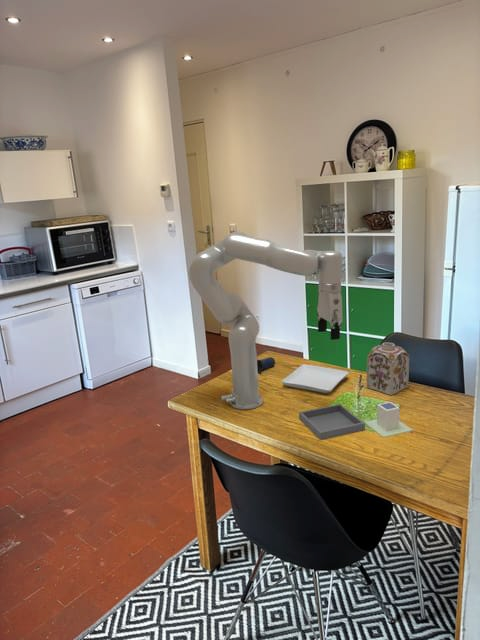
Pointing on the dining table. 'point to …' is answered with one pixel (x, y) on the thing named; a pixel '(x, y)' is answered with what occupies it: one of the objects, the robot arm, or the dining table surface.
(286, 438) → the dining table surface
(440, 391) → the dining table surface
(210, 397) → the dining table surface
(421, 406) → the dining table surface
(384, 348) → the decorative jar
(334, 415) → the bin
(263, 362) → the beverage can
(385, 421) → the labelled box
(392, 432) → the mat
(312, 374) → the salad plate
